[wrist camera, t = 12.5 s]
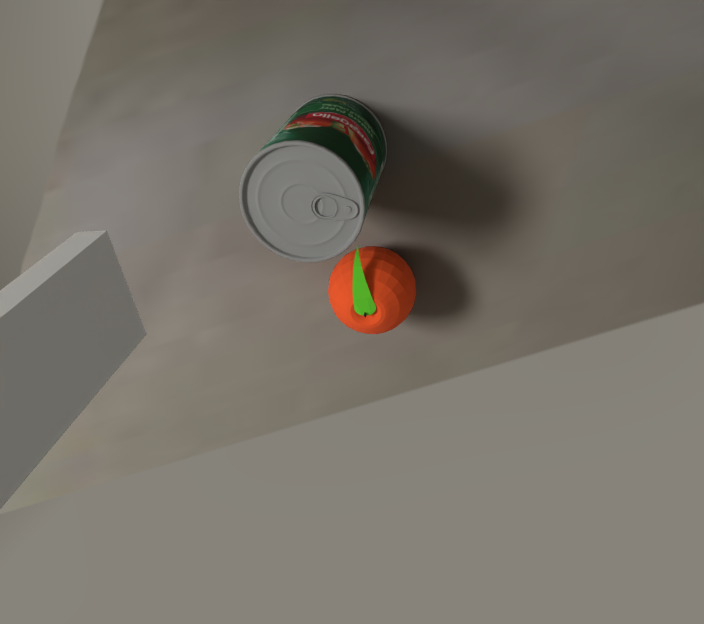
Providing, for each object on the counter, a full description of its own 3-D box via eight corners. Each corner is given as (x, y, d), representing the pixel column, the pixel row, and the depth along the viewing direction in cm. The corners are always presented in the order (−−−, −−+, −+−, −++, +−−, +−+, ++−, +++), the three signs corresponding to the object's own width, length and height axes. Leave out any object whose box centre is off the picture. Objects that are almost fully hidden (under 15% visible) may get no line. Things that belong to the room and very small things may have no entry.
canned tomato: (286, 191, 49) (241, 255, 40) (283, 89, 45) (232, 135, 36) (384, 201, 48) (361, 269, 39) (392, 98, 44) (367, 148, 35)
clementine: (325, 225, 50) (304, 267, 44) (409, 213, 48) (398, 255, 43) (348, 308, 54) (332, 356, 48) (426, 299, 52) (419, 349, 47)
